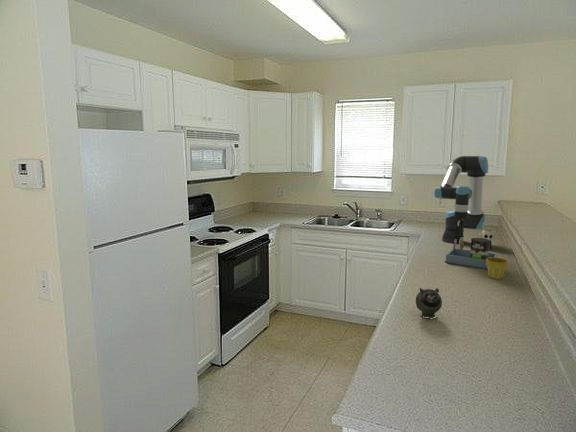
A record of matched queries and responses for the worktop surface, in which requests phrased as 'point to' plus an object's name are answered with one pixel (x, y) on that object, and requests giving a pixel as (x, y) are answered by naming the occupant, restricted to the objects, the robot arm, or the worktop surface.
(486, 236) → the character mug
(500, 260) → the plant pot
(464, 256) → the tote
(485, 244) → the coffee can
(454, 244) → the brown wooden cube
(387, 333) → the worktop surface
